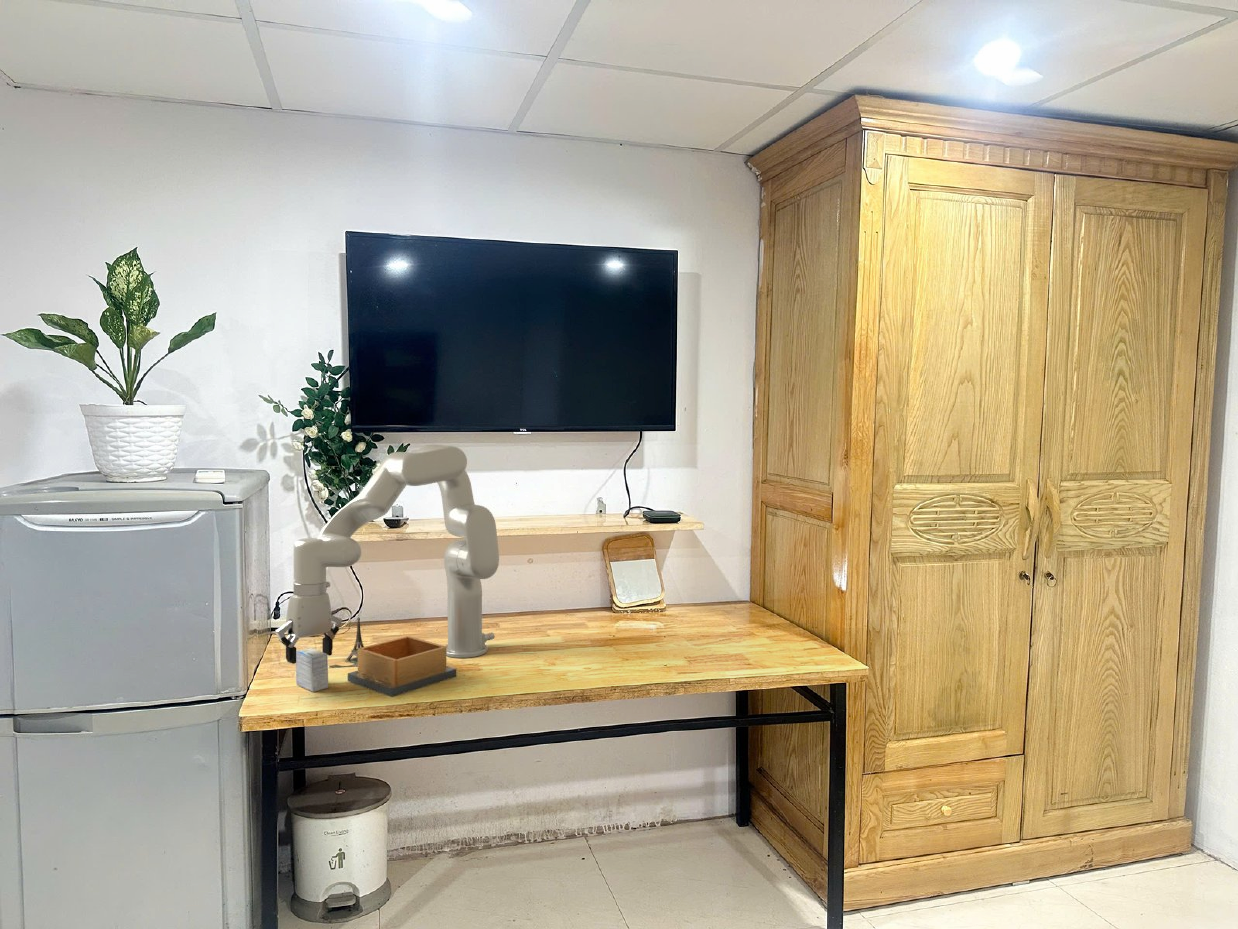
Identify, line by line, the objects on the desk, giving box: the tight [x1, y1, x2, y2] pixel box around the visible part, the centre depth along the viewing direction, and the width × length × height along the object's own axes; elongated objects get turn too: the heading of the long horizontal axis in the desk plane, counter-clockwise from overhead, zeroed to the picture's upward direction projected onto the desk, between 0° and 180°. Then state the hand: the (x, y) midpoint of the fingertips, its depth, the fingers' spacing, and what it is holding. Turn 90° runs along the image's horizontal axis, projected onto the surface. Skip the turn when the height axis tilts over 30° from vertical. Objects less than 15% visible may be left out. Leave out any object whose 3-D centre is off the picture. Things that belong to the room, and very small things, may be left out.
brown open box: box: [347, 635, 457, 698], centre depth 218 cm, size 20×18×8 cm
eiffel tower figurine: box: [328, 613, 365, 669], centre depth 233 cm, size 15×10×13 cm
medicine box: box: [295, 647, 329, 693], centre depth 211 cm, size 8×4×9 cm, turn 48°
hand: (309, 658), depth 211 cm, fingers open, 9 cm apart
